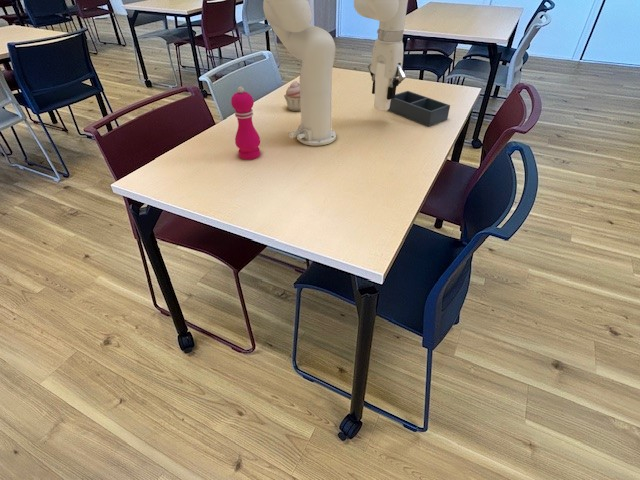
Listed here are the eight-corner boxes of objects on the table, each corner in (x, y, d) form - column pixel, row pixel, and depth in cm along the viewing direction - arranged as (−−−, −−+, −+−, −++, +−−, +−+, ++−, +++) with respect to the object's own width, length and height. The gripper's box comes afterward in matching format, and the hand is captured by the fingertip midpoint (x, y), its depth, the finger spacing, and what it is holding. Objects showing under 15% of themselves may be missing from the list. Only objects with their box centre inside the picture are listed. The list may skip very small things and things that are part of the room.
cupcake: (308, 113, 139) (308, 85, 133) (283, 113, 139) (281, 85, 133) (310, 103, 146) (309, 76, 140) (285, 103, 146) (284, 76, 140)
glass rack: (428, 126, 129) (431, 112, 125) (387, 110, 140) (388, 96, 137) (447, 119, 133) (450, 105, 130) (405, 104, 145) (407, 90, 142)
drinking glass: (391, 105, 132) (397, 59, 122) (391, 112, 126) (398, 64, 117) (371, 104, 132) (376, 58, 123) (371, 111, 127) (376, 63, 117)
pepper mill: (238, 162, 110) (227, 92, 97) (236, 151, 116) (225, 83, 103) (263, 158, 112) (255, 89, 99) (259, 148, 117) (252, 81, 104)
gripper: (361, 32, 119) (357, 91, 130) (403, 42, 108) (394, 105, 119) (379, 30, 122) (373, 87, 134) (420, 39, 112) (410, 101, 123)
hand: (383, 95), depth 126 cm, fingers closed on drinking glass, 6 cm apart
